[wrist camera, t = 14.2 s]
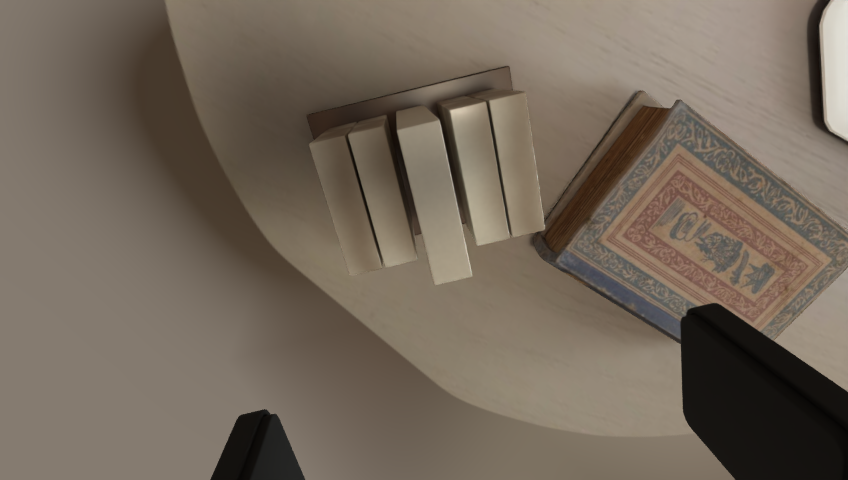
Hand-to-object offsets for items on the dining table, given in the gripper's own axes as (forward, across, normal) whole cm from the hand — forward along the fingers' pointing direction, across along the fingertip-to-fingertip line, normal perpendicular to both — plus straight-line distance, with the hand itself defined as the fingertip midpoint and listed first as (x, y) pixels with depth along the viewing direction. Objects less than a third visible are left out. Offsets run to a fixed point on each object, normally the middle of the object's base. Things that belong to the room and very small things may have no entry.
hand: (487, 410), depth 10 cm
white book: (+33, -1, +1) cm, 33 cm away
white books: (+34, -1, +1) cm, 34 cm away
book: (+34, -24, +14) cm, 44 cm away
